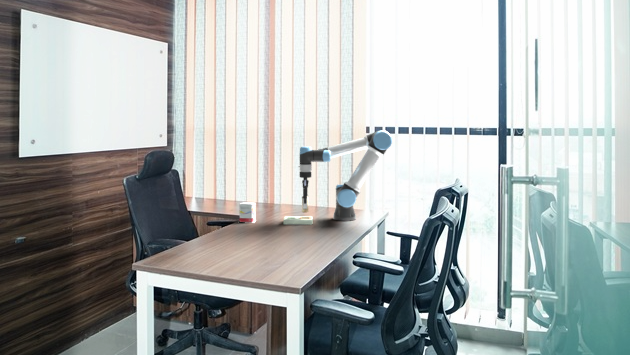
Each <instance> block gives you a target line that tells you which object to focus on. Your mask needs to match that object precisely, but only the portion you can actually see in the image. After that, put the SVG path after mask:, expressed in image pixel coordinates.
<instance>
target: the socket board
mask: <svg viewBox="0 0 630 355" xmlns="http://www.w3.org/2000/svg"><path fill="white" fill-rule="evenodd" d="M313 217H314V216H311V215H309V216H305V215H304V216H301V215H300V216H294V215H293V216H291V215H289V216H288V215H287V216H284V217H283V225H295V226H296V225H303V226H304V225H307V226H308V225H309V226H310V225H311V226H312V225H313V221H314V218H313Z"/></svg>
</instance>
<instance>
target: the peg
mask: <svg viewBox="0 0 630 355" xmlns="http://www.w3.org/2000/svg"><path fill="white" fill-rule="evenodd" d="M308 196H309V195H307V209H303V198H302V197H303V195H302V196H301V212H302V213H309V197H308Z"/></svg>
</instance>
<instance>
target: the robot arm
mask: <svg viewBox="0 0 630 355" xmlns="http://www.w3.org/2000/svg"><path fill="white" fill-rule="evenodd" d="M392 144H393V136H392V135H391V134H390V133H389V132H388V131H387V130H376V131H375V132H371V133H370V134H366V135H364V137H360V138H358V139H353V140H350V141H345V142H343V143H338V144H335V145H331V146H327V147H324V148H319V149H312V148H313V147H312V146H301V147H299V165H298V168H299V178H301V180H302V181H301V182H302V183H301V184H302V196H303V197H302V196H301V199H302V198H303V209H307V196H308V198H309V195H308V193H309V192H308V188H309V182H310V181H309V179H310V178H312V163H330V162H331V159H333V158H337V157H342V156H344V155H348V154H353V153H356V152H359V151H360V152H361V151H363V150H364V151H365V150H366V152H365V154H364V155H363V157H362V158H361V160H360V162H359V163H358V165H357V166H356V168H355V170H354V171H353V173H352V175H351V176H350V178H349V179H348V181H345V182H343V184H336V186H335V208H334V211H333V215H332V219H333V220H335V221H339V222H340V221H343V222H345V221H347V222H348V221H350V220H351V221H355V220H356V219H357V215H356V211H355V209H354V205H355V204H356V201H357V198H358V197H359V195H360V193H361V187H362V186H363V185H364V182H365V181H366V179H367V178H368V176H369V174H370V173H371V171H372V170H373V168H374V167H375V165H376V163H377V162H378V160H379V158H380V157H381V156H384V155H385V153H386V152H387V150H388V149H390V147H391V146H392ZM351 221H350V222H351Z"/></svg>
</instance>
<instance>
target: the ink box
mask: <svg viewBox="0 0 630 355" xmlns="http://www.w3.org/2000/svg"><path fill="white" fill-rule="evenodd" d="M256 204H257V203H256V202H250V201H249V202H248V201H246V202H240V203H239V221H240V222H253V221H255V220H256V221H257V219H256ZM256 221H255V222H256Z"/></svg>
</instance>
